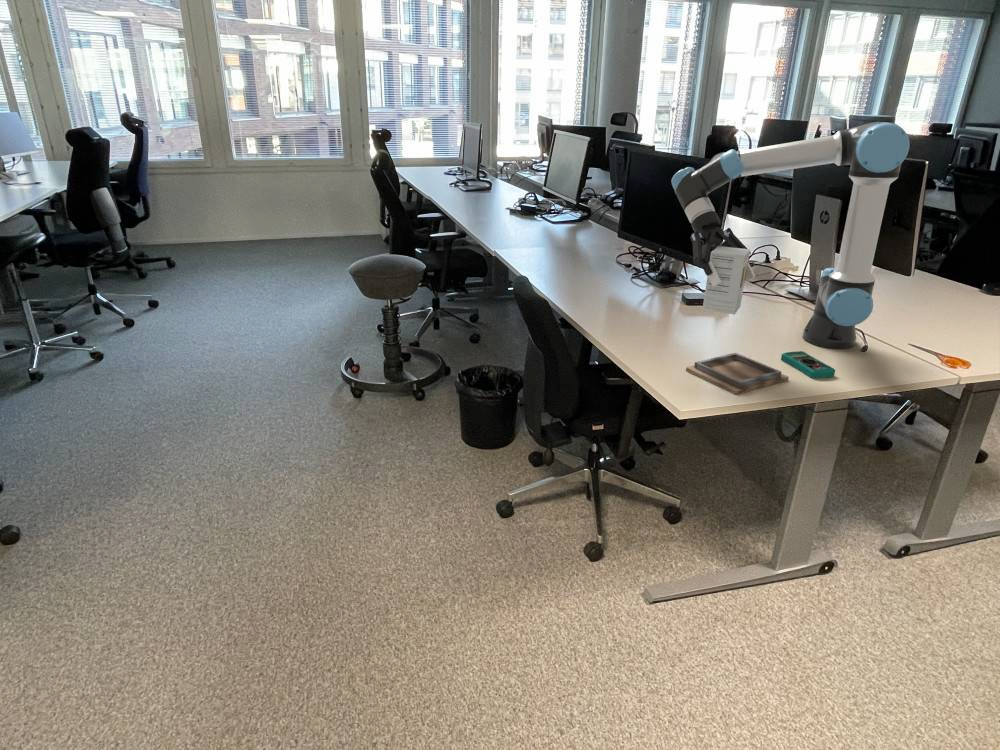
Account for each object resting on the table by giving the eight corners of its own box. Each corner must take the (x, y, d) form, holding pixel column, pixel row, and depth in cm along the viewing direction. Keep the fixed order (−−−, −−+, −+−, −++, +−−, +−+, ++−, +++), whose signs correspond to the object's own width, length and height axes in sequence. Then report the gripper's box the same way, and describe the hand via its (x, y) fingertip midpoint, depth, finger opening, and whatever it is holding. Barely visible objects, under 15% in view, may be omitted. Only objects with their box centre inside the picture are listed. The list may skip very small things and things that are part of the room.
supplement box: (735, 315, 176) (745, 255, 169) (701, 310, 180) (710, 251, 173) (741, 306, 184) (751, 248, 177) (708, 301, 188) (717, 245, 181)
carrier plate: (736, 358, 186) (737, 350, 185) (788, 380, 172) (789, 371, 171) (685, 370, 177) (686, 362, 176) (736, 394, 163) (737, 385, 162)
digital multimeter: (812, 380, 173) (815, 371, 172) (779, 360, 186) (781, 351, 185) (835, 378, 174) (838, 368, 173) (800, 358, 188) (802, 349, 186)
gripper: (725, 222, 191) (756, 283, 185) (662, 228, 180) (693, 293, 174) (742, 206, 184) (774, 269, 178) (677, 212, 174) (710, 279, 168)
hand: (734, 281), depth 176 cm, fingers closed on supplement box, 12 cm apart
